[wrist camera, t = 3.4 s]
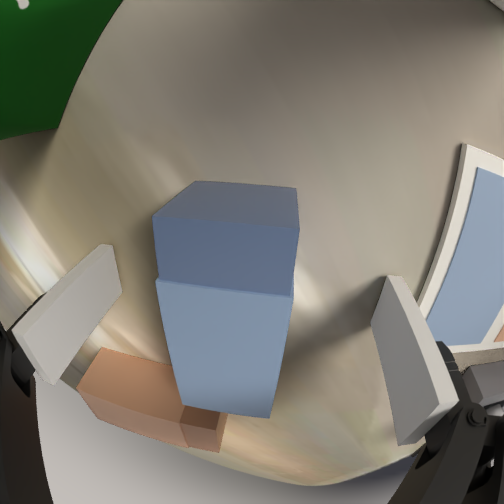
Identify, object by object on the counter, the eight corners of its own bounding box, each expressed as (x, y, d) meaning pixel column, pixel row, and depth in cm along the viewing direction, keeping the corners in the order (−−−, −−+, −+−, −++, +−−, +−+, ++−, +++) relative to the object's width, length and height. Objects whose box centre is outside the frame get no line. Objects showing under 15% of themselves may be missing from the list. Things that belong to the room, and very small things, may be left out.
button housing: (431, 412, 16) (439, 441, 14) (469, 365, 13) (483, 398, 11) (478, 402, 16) (486, 427, 13) (514, 358, 13) (528, 384, 10)
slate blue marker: (275, 355, 14) (269, 418, 11) (203, 345, 15) (182, 404, 11) (298, 187, 10) (303, 231, 7) (193, 180, 10) (146, 217, 7)
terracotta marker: (117, 379, 18) (97, 418, 15) (102, 346, 16) (75, 388, 13) (229, 406, 18) (218, 454, 14) (228, 375, 16) (215, 431, 12)
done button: (451, 434, 13) (458, 463, 11) (484, 403, 11) (495, 435, 9) (486, 424, 13) (494, 449, 10) (517, 393, 11) (528, 419, 8)
